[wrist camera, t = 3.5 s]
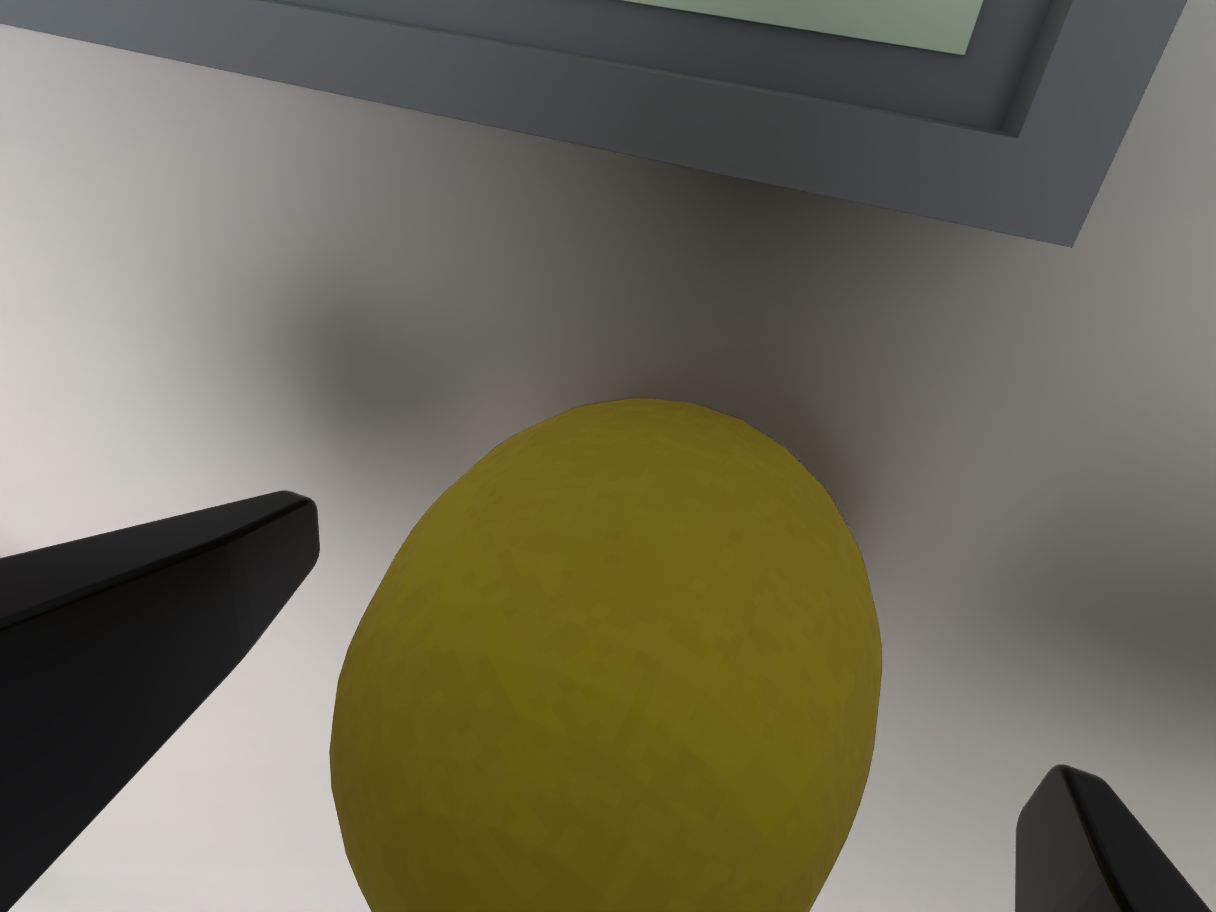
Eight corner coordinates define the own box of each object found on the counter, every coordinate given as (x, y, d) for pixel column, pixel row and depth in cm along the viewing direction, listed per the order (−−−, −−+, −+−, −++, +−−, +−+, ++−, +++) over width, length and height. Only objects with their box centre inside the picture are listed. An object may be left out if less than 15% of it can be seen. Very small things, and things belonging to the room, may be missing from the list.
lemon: (966, 441, 10) (1113, 1168, 3) (767, 677, 13) (634, 1312, 6) (619, 251, 11) (137, 559, 4) (503, 522, 14) (119, 962, 7)
